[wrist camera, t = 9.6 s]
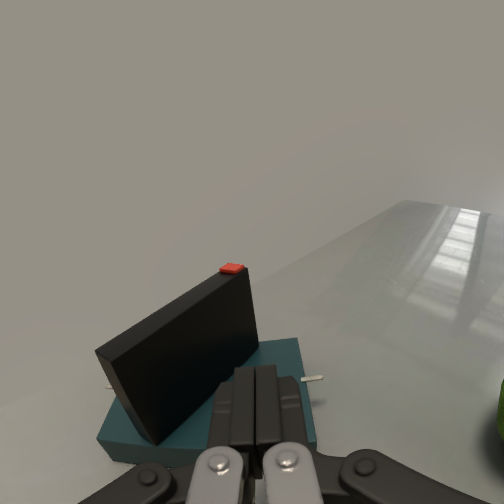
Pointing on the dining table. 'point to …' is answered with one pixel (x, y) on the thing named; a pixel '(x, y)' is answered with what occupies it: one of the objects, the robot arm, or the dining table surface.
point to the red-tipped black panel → (182, 352)
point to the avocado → (501, 412)
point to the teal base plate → (200, 415)
